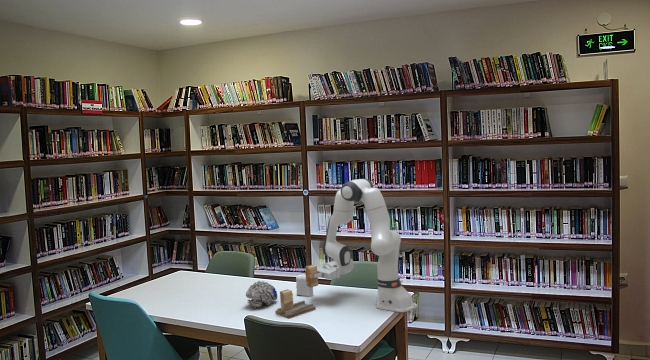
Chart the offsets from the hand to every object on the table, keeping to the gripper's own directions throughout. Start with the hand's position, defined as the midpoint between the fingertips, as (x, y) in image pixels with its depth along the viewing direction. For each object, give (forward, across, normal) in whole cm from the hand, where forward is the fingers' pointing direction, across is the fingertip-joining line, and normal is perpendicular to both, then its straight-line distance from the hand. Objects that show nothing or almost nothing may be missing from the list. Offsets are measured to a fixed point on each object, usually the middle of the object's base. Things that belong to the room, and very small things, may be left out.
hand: (310, 275), depth 285 cm
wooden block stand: (+12, +1, +17) cm, 21 cm away
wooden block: (-1, 0, +6) cm, 6 cm away
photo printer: (-10, -19, +17) cm, 27 cm away
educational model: (+17, -23, +17) cm, 34 cm away
